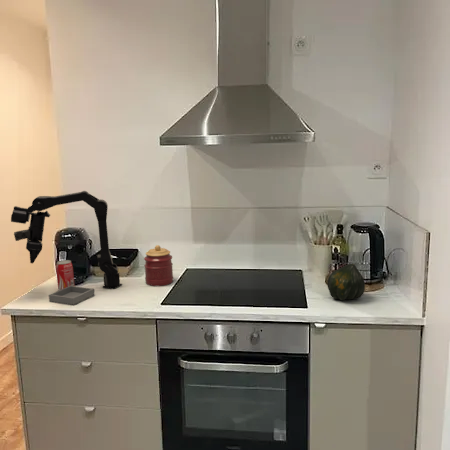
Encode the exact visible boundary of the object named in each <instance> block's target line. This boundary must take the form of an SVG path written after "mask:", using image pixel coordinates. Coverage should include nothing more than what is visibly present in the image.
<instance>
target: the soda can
mask: <svg viewBox="0 0 450 450" xmlns="http://www.w3.org/2000/svg"><path fill="white" fill-rule="evenodd" d="M55 271H56V272H55V273H56V281H57V289H58V291H59V290H61V289H64V288H66V287H69V286H76V285H75V277H74V276H75V275H74V267H73V263H72V260H70V259H64V260H58V261H57V262H56V265H55Z"/></svg>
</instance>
